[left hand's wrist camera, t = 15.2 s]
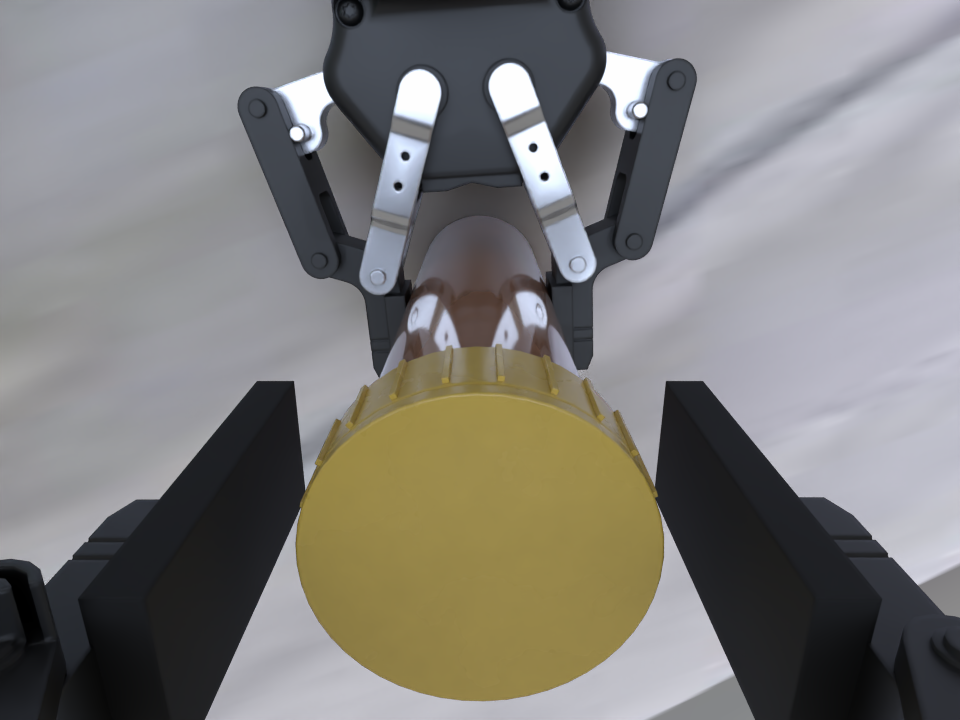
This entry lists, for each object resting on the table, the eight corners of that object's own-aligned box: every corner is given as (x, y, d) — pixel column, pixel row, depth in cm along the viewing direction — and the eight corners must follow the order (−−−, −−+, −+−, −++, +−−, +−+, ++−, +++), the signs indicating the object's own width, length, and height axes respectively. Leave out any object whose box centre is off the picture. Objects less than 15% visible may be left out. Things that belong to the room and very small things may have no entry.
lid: (316, 606, 13) (289, 691, 11) (325, 323, 11) (293, 367, 9) (608, 631, 13) (630, 719, 11) (668, 358, 11) (707, 409, 9)
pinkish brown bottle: (436, 203, 28) (359, 368, 10) (549, 230, 28) (667, 434, 10) (413, 312, 29) (312, 621, 12) (520, 336, 30) (580, 670, 12)
